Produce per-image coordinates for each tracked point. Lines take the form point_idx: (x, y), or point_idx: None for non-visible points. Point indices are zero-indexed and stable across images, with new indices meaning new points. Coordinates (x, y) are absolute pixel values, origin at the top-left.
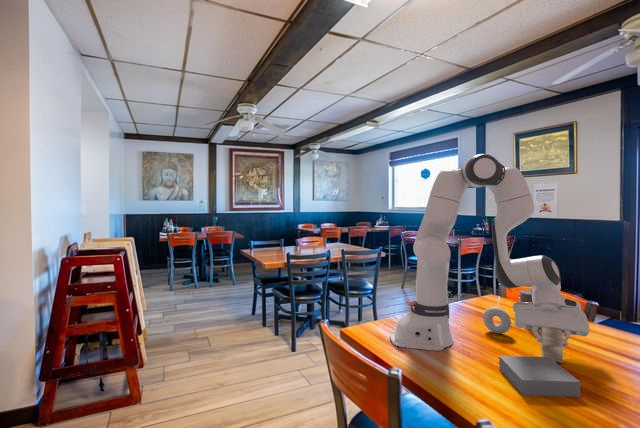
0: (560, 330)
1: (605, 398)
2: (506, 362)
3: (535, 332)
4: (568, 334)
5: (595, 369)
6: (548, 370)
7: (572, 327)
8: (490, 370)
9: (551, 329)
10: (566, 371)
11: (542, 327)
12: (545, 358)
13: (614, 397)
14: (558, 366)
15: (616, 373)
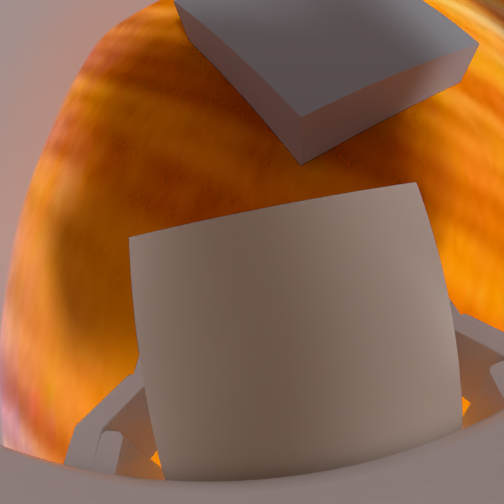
0: (159, 429)
1: (120, 78)
2: (427, 6)
3: (487, 327)
4: (96, 421)
5: (90, 326)
6: (277, 1)
7: (11, 478)
8: (469, 65)
9: (306, 402)
10: (208, 25)
11: (451, 416)
12: (313, 88)
13: (93, 101)
14: (240, 43)
15: (34, 324)
